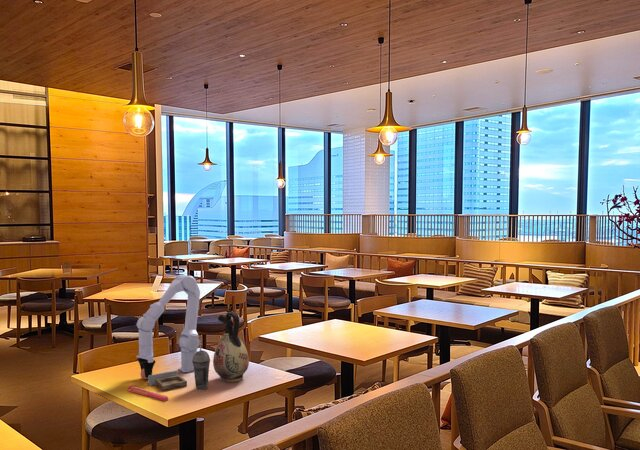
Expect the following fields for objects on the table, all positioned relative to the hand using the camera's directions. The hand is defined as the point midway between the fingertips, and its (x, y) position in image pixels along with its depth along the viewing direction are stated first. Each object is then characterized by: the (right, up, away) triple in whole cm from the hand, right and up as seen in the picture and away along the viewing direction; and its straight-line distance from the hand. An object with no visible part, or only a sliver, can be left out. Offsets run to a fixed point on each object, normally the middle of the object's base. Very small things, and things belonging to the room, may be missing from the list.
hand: (146, 375), depth 215 cm
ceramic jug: (+38, -1, -3) cm, 38 cm away
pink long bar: (+8, -2, -20) cm, 22 cm away
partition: (+9, -2, -5) cm, 10 cm away
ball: (0, -2, 0) cm, 2 cm away
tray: (+14, -1, -9) cm, 17 cm away
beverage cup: (+28, -1, -14) cm, 31 cm away
